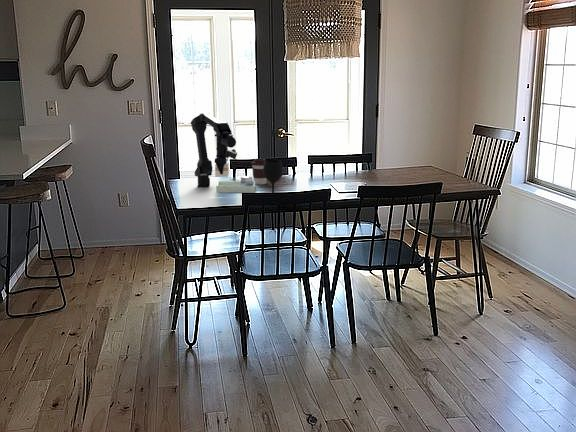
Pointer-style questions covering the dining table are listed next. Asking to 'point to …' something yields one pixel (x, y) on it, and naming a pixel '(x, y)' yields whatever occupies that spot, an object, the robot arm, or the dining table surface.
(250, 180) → the tin can
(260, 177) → the coffee cup
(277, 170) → the wine glass
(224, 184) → the tote
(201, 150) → the robot arm
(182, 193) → the dining table surface
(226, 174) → the taped carton
